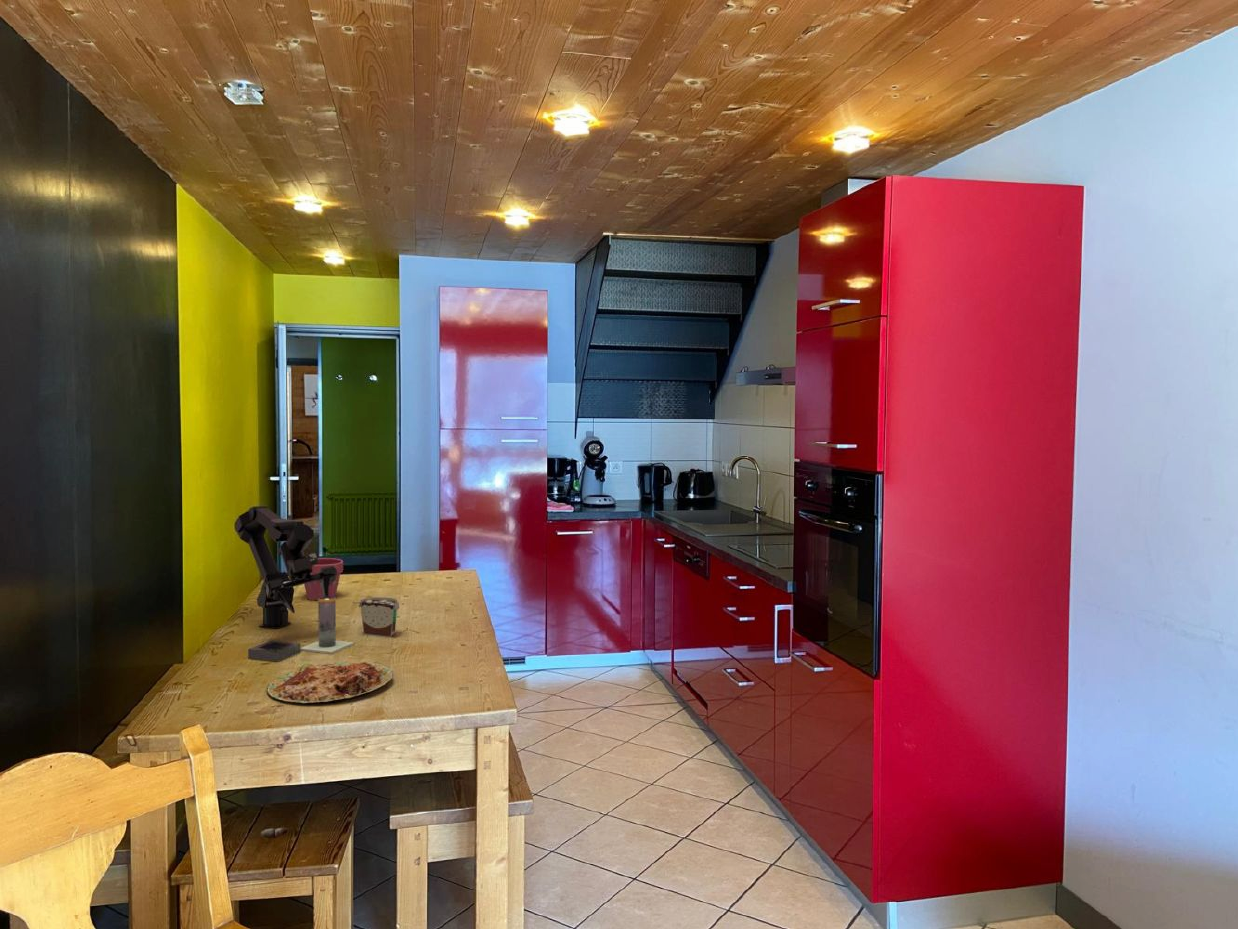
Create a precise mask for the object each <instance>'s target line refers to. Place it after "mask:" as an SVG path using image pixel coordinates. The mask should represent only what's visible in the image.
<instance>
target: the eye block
mask: <svg viewBox="0 0 1238 929" xmlns="http://www.w3.org/2000/svg"><path fill="white" fill-rule="evenodd" d="M301 648H302V647H301V642H292V641H283V640H282V641H281V640H272V639H271V640H269V641H266V642H264V643H260V644H257V645H255V646H253V647H250V648H248V650H247V655H248V656H247V657H248V658H250V660H256V659H259V661H265V660H266V662H267V661H268V662H274V661H275V662H276V663H278V661H279V662H281V661H284V660H286V659H288V658H287V657H289V658H291V657H293V656H292V655H294V656H295V654H296V655H298V654H301V653H300V652H302V651H301ZM297 653H298V654H297ZM290 656H291V657H290ZM285 658H286V659H285ZM283 659H284V660H283ZM280 660H281V661H280Z"/></svg>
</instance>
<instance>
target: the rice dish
mask: <svg viewBox="0 0 1238 929" xmlns="http://www.w3.org/2000/svg"><path fill="white" fill-rule="evenodd" d="M394 674H395V673H394V672H393V670H392V669H391V668H390V666H386V665H384V664H381V663H379V662H377V661H375V662H370V661H369V662H368V661H366V660H365V661H340V662H331V663H324V664H318V665H313V664H312V663H305V664H302V665H300V667H299V669H298V670H294V671H292V672H288V673H285V674H283V675H281V676H279V677H277V678H276V679H274V680H272V681H271V682H270V683H269V684H268V685H267V687H266V692H267V694H268V695H269V696H270V697H271V698H274V699H276V700H279V701H283V702H284V703H285V702H286V703H287V702H289V703H300V704H313V703H321V702H322V703H326V702H331V701H337V700H342V699H352V698H355V697H356V698H357V697H358V696H361V695H363V694H366V693H370V692H372V691H375V690H377V689H379V688H381V687H382V686H384V685H386V683H387V684H388V682H389V681H391V680H392V678H393V677H394ZM345 694H348V695H350V696H347V697H346V695H345ZM344 695H345V696H344Z"/></svg>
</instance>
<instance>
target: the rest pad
mask: <svg viewBox="0 0 1238 929" xmlns="http://www.w3.org/2000/svg"><path fill="white" fill-rule="evenodd" d="M354 645H355V641H353V642H352V641H345V640H344V641H343V640H336V645H335V646H333V647H319V640H318V641H315V642H312V643H310V644H307V645H304V646H302V647H301V652H307V653H316V652H319V653H318V654H325V653H329V654H328V655H333V654H335V653H338V652H340V651H342V650H345V649H347V648H349V646H350V647H351V646H354ZM332 653H333V654H332Z"/></svg>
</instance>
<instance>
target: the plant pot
mask: <svg viewBox="0 0 1238 929" xmlns="http://www.w3.org/2000/svg"><path fill="white" fill-rule="evenodd" d="M317 559H318V564H317V565H313V566H312V567H313V568H312V573H311V575H314V574H318V573H320V569H321V568H324V567H328V566H332V565H333V566H334V567H335V568H336V570H337V576H336V580H335V581H334V582H332V584H331V585H329V594H328V596H334V597H336V595H337V590H338V587H339V584H340V583H339V581H340V578H341V574H342V573H343V571H344V561H343V560H342V559H340V558H335V557H334V558H333V557H332V558H331V557H322V558H321V557H319V558H318V557H317ZM321 584H322V583H321V582H320V580H318V581H314V582H310V583H306V584H303V585H304V586H303V587H304V590H305V593H306V599H307V600H309V601H313V600H318V598H319V597H323V592H322V589H321Z"/></svg>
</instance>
